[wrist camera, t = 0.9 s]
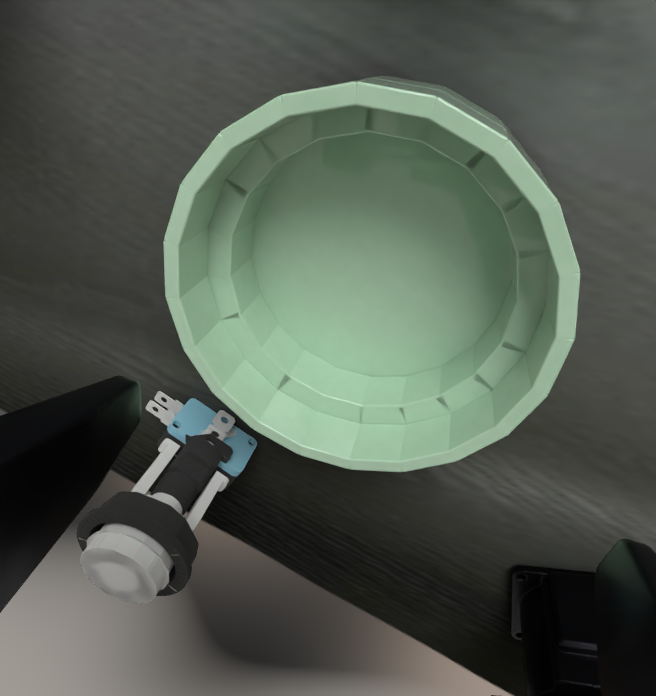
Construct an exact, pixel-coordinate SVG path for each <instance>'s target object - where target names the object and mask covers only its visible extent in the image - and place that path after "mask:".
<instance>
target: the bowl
mask: <svg viewBox="0 0 656 696" xmlns="http://www.w3.org/2000/svg"><path fill="white" fill-rule="evenodd" d="M163 246H164V273H165V296H166V300H167V303H168V306H169V309H170V312H171V315H172V318H173V321H174V324H175V327H176V329H177V332H178V335H179V338H180V341H181V344H182V347H183V348H184V349H183V350H184V351H185V353H186V354H187V356H188V357H189V359H190V360H191V362H192V363H193V365H194V366H195V368H196V369H197V371H198V372H199V374H200V375H201V377H202V378H203V380H204V381H205V383H206V384H207V386H208V387H209V389H210V390H211V391H212V393H214V395H215V396H216V397H218V398H219V399H220V400H221V401H222V402H223V403H224V404H225V405H226V406H227V407H229V408H230V409H231V410H232V411H233V412H234V413H235V414H236V415H237V416H238V417H240V418H241V419H242V420H243V421H244V422H245V423H246V424H247V425H248V426H249V427H251V428H253V430H255V431H257V432H259V433H260V434H262V435H264V436H266V437H267V438H269V439H271V440H273V441H275V442H276V443H278V444H280V445H282V446H284V447H285V448H287V449H289V450H291V451H293V452H294V453H296V454H299V455H301V456H304V457H308V458H311V459H315V460H318V461H322V462H325V463H328V464H332V465H335V466H339V467H342V468H346V469H349V468H350V469H351V470H367V471H386V472H402V471H403V472H407V471H412V470H417V469H422V468H427V467H432V466H437V465H442V464H447V463H452V462H456V461H459V460H461V459H463V458H465V457H467V456H469V455H471V454H472V453H474V452H476V451H478V450H480V449H482V448H484V447H486V446H488V445H490V444H492V443H494V442H496V441H498V440H500V439H502V438H504V437H505V436H507V435H508V434H509V433H510V432H512V431H513V430H514V429H515V428H516V427H517V426H518V425H519V424H520V423H521V422H522V421H523V420H524V419H525V418H526V417H527V416H528V415H529V414H530V413H531V412H532V411H533V410H534V409H535V408H536V407H537V406H538V405H539V404H540V403H541V402H542V401H543V400H544V399H545V398H546V397H547V395H548V394H549V392H550V390H551V388H552V386H553V384H554V382H555V380H556V378H557V376H558V374H559V372H560V369H561V367H562V365H563V363H564V361H565V359H566V357H567V355H568V353H569V351H570V349H571V347H572V345H573V343H574V339H575V336H576V323H577V311H578V299H579V286H580V268H579V265H578V262H577V259H576V255H575V252H574V249H573V246H572V242H571V239H570V236H569V233H568V229H567V226H566V223H565V219H564V216H563V213H562V210H561V206H560V203H559V202H558V200H557V198H556V196H555V195H554V193H553V191H552V190H551V188H550V186H549V184H548V183H547V181H546V179H545V177H544V176H543V174H542V172H541V171H540V169H539V167H538V166H537V165H536V163H535V162H534V161H533V160H532V158H531V157H530V156H529V155H528V153H527V152H526V151H525V150H524V148H523V147H522V146H521V144H520V143H519V142H518V141H517V139H516V138H515V137H514V136H513V134H512V133H511V132H510V131H509V129H508V128H507V127H506V125H505V124H504V123H503V122H502V121H501V120H500V119H499V118H497V117H496V116H494V115H492V114H491V113H489V112H487V111H486V110H484V109H482V108H481V107H479V106H477V105H476V104H474V103H472V102H471V101H469V100H467V99H466V98H464V97H462V96H461V95H459V94H457V93H456V92H454V91H452V90H451V89H449V88H445V87H444V86H441V85H435V84H430V83H424V82H418V81H413V80H407V79H402V78H396V77H391V76H385V75H384V76H375V77H369V78H364V79H358V80H353V81H347V82H342V83H336V84H331V85H325V86H320V87H316V88H311V89H306V90H301V91H296V92H291V93H287V94H282V95H280V96H277V97H276V98H274V99H272V100H271V101H269V102H267V103H266V104H264V105H262V106H261V107H259V108H258V109H256V110H254V111H253V112H251V113H249V114H248V115H246V116H245V117H243V118H241V119H240V120H238V121H236V122H235V123H233V124H232V125H230V126H228V127H227V128H225V129H223V130H222V131H221V132H220V133H219V134H218V135H217V136H216V137H215V139H214V140H213V141H212V143H211V144H210V145H209V147H208V148H207V149H206V151H205V152H204V153H203V155H202V156H201V157H200V158H199V160H198V161H197V162H196V164H195V165H194V166H193V168H192V169H191V170H190V172H189V173H188V174H187V176H186V177H185V178H184V180H183V181H182V183H181V185H180V187H179V191H178V194H177V197H176V201H175V204H174V207H173V211H172V214H171V217H170V221H169V224H168V227H167V231H166V234H165V237H164V242H163Z"/></svg>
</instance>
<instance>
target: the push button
mask: <svg viewBox="0 0 656 696" xmlns="http://www.w3.org/2000/svg"><path fill="white" fill-rule="evenodd" d="M161 397H164V398H165V399H166V400H167V402H163V401H162V400H161ZM154 399H155V400H156V401H157V402H159V403H160V404H162V405H163V406H165V407H166V408H167V409H168V410H165V409H164V408H162V407H161V406H159V405H158V404H156V403H155V402H154V401H152V400H150V401H149V403H148V405H147V406H146V410H148V411H149V412H151V413H152V414H154V415H155V416H157V417H158V418H160V419H161V422H162V423H164V424H165V425H167V426H168V427H167V429H166V430H165V432H164V433H163V435H162V436H161V438H160V439H159V441H158V442H157V447H158V450H159V452H161V453H160V454H159V456H158V457H157V458H156V460H155V461H154V462H153V463H152V465H151V466H150V467H149V468H148V470H147V471H146V472H145V474H144V475H143V476H142V477H141V479H140V480H139V481H138V482H137V484H136V485H135V487H134V488H133V489H132V490H131V492H119V493H117V494H116V495H114V496H113V497H112V498H110V499H109V500H108V501H106V502H105V503H104V504H103V505H102V506H101V507H99V508H96V509H93V510H92V511H90V512H89V513H87V515H86V516H85V517H84V518H83V519H82V520H81V522H80V523H79V525H78V528H77V538H78V542H79V544H80V547H81V549H82V551H83V553H82V556H81V558H80V560H81V566H82V570H83V571H84V572H85V574H86V575H87V576H88V578H89V580H91V582H93V583H94V584H95V585H96V586H98V587H99V588H100V589H102V590H103V591H104V592H105V593H107V594H109V595H112V596H113V597H116V598H118V599H120V600H122V601H126V602H132V603H136V604H139V603H141V604H142V603H145V602H150V601H151V600H152V599H154V598H155V596H167V595H172V594H175V593H177V592H179V591H181V590H182V589H183V588H184V587H185V585H186V583H187V582H188V580H189V578H190V576H191V571H192V566H191V564H192V563H193V561H194V559H195V557H196V554H197V549H198V542H197V540H196V538H195V536H194V534H193V531H194V530H195V528H196V526H197V525H198V523H199V521H200V520H201V518H202V516H203V515H204V513H205V511H206V509H207V508H208V506H209V504H210V503H211V501H212V499H213V498H214V496H215V494H216V492H217V491H222V490H226V489H227V488H228V487H229V486H230V484H231V483H232V482H233V481H234V480H235V479H236V478H237V476H238V475H239V474H240V473H241V472H242V471H243V469H244V468H245V466H246V464H247V462H248V460H249V458H250V457H251V455H252V453H253V451H254V450H255V448H256V446H257V441H256V440H255V439H254V438H253V437H251V436H250V435H248V434H246V433H245V432H243V431H242V430H240V429H239V428H237V427H236V426H235V425H233V424H234V423H235V419H234V417H232V416H231V415H229V414H228V413H226V412H225V411H223V410H220V411H219V412H218V413H216V412H214V411H213V410H211V409H210V408H208V407H207V406H205V405H204V404H203V403H201V402H200V401H198V400H197V399H194V398H191V399H189V401H188V402H187V403H186V404H185V405H183V404H182V403H181V402H179V401H178V400H176V401H174V400H173V399H171V398H170V397H168V396H167V395H166V394H164V393H163V392H161V391H159V392H158V393H157V395H156V396H155V398H154ZM152 407H156V408H158V412H156V411H154V410H153V408H152ZM223 417H225V418H227V419H228V421H227V420H226V419H224V418H223ZM171 459H173V462H172V464H171V465H170V466H169V468H168V469H167V470H166V472H165V473H164V475H163V476H162V477H161V479H160V480H159V483H158V484H157V486H156V487H155V488H154V490H153V491H152V492H151V494H150V495H145V493H146V492H147V491H148V489H149V488H150V487H151V485H152V484H153V483H154V481H155V480H156V479H157V477H158V476H159V475H160V473H161V472H162V471H163V469H164V468H165V467H166V465H167V464H168V463H169V461H170V460H171ZM207 481H208V483H207V484H206V482H207ZM205 484H206V486H205V488H204V489H203V487H204V485H205ZM202 489H203V491H202V493H201V494H200V496H199V497H198V499H197V501H196V502H195V504H194V505H193V507H192V509H191V510H190V512H189V514H188V515H187V517H186V518H185V517H184V516H183V515H184V514H185V512H186V511H187V509H188V507H189V506H190V504H191V503H192V501H193V500H194V499H195V497H196V496H197V495H198V494H199V492H200V491H201V490H202Z"/></svg>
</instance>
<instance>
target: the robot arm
mask: <svg viewBox="0 0 656 696" xmlns="http://www.w3.org/2000/svg"><path fill="white" fill-rule="evenodd" d="M140 419H141V387H140V384H139V382H137V381H136V380H133V379H129V378H126V377H123V376H115V377H112V378H109V379H106V380H103V381H100V382H97V383H95V384H92V385H89V386H86V387H83V388H80V389H77V390H74V391H71V392H68V393H65V394H63V395H60V396H57V397H54V398H51V399H48V400H45V401H42V402H39V403H36V404H33V405H31V406H28V407H25V408H22V409H19V410H16V411H13V412H10V413H7V414H4V415H2V416H0V612H1V611H2V610H3V609H4V607H5V606H6V605H7V604H8V602H9V601H10V600H11V598H12V597H13V596H14V595H15V593H16V592H17V591H18V589H19V588H20V587H21V586H22V585H23V583H24V582H25V581H26V580H27V578H28V577H29V576H30V574H31V573H32V572H33V571H34V569H35V568H36V567H37V566H38V564H39V563H40V562H41V561H42V559H43V558H44V557H45V556H46V554H47V553H48V552H49V551H50V549H51V548H52V547H53V545H54V544H55V543H56V542H57V540H58V539H59V538H60V537H61V535H62V534H63V533H64V532H65V530H66V529H67V528H68V526H69V525H70V524H71V523H72V521H73V520H74V519H75V518H76V516H77V515H78V514H79V513H80V511H81V510H82V509H83V508H84V506H85V505H86V504H87V502H88V501H89V500H90V498H91V497H92V496H93V495H94V493H95V492H96V491H97V489H98V488H99V486H100V484H101V483H102V482H103V480H104V478H105V477H106V475H107V474H108V472H109V471H110V469H111V467H112V466H113V464H114V463H115V461H116V459H117V458H118V456H119V455H120V453H121V451H122V450H123V448H124V447H125V445H126V443H127V442H128V440H129V439H130V437H131V436H132V434H133V432H134V431H135V429H136V428H137V426H138V424H139V422H140ZM511 634H512V636H513V637H514V638H515V639H518V640H522V648H523V660H524V672H525V684H526V696H656V554H655V552H654V551H653V550H652V549H651V548H650V547H648V546H647V545H644V544H641V543H638V542H635V541H632V540H629V539H621V540H619V541H618V542H617V543H616V544H615V545H614V546H613V548H612V549H611V550H610V551H609V553H608V554H607V555H606V556H605V558H604V559H603V560H602V561H601V563H600V564H599V565H598V567H597V570H596V573H591V572H581V571H571V570H561V569H551V568H541V567H531V566H515V567H514V568H513V569H512V602H511ZM491 696H494V695H491Z"/></svg>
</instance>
